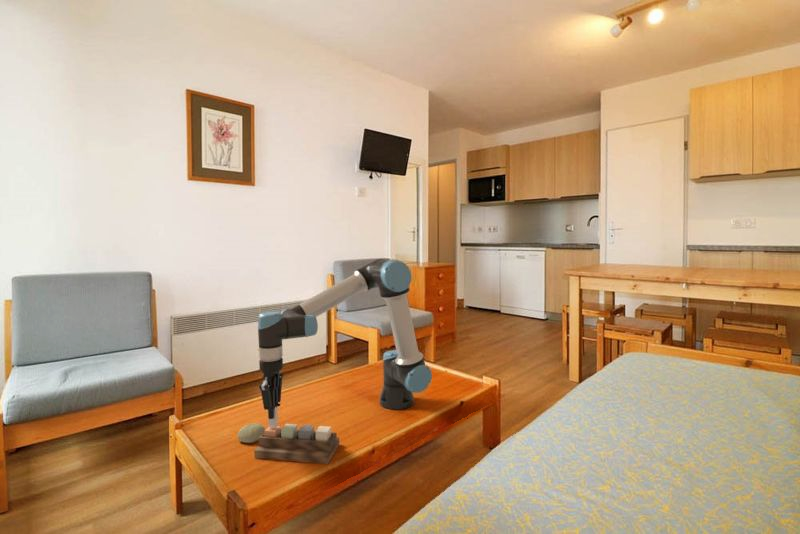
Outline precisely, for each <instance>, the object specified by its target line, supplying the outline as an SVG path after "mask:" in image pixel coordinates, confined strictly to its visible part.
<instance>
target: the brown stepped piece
mask: <svg viewBox="0 0 800 534" xmlns="http://www.w3.org/2000/svg"><path fill="white" fill-rule="evenodd" d="M298 430H299V429H297V433H298ZM339 446H340V437H337V432H333V431H331V438H330V439H329V441H316V430H314V437H313V438H312V439H311V440H302V439H298V434H297V435H296V437H295V438H294V439H289V438H281V433H280V434H279V435H278V437H277V438H275V437H264V433H263V434H262V435H261V436H259V437H258V446H257V447H256V448H255V449H254V451H253V452H254V458H255V459H264V460H265V459H267V460H280V461H291V462H303V463H313V464H314V463H315V464H316V463H317V464H327V465H328V464H329V463H330V461H331V459H332V457H333V456H334V454H335V453H336V451H337V449H338V448H339Z"/></svg>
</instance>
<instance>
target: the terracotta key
mask: <svg viewBox="0 0 800 534" xmlns="http://www.w3.org/2000/svg"><path fill="white" fill-rule="evenodd" d="M281 429H282V426H281V425H278V426H277V427H276V428H275V427H269V426H268V427H266V428H265V431H264V437H275V438H277V437H278V435H279V434H280V433H281Z"/></svg>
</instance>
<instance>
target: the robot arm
mask: <svg viewBox="0 0 800 534" xmlns="http://www.w3.org/2000/svg"><path fill="white" fill-rule="evenodd" d="M412 280H413V279H412V271H411V269H410V267H409V266H408V265H407V264H406V263H404V262H403V261H401V260H398V259H393V258H392V259H386V258H378V259H375V260H372V261H370V262H368V263H367V264H365V265H363V266H361V267H360V268H357V269H356V270H354V272H353V274H352V275H351V276H349V277H347V278H345V279H342V280H340V282H337V283H335V284H334V285H332V286H330V287H329V288H327V289H325V290H323V291H321V292H320V293H317V294H316V295H313V296H311V297H310V298H308V299H307V300H305V301H303V302H301V303H299V304H298V305H296V306H294V307H292V308H285V309H283V310H282V311H281V312H280V311H266V312H262V313H260V314H259V315H258V317H257V318H258V319H257V321H258V322H257V331H258V333H257V335H258V336H257V338H258V353H259V354H258V355H259V356H258V357H259V360H258V363H259V366H258V368H259V371H260V372H261V373H262V374H263V378H262V383H260V384H259V387H258V388H259V391H260V394H261V401H262V405H263V409H264V410H265V411H266V410H267V417H268V422H267V424H268V427H275V428H276V427H277V426H279V420H278V419H279V417H278V416H279V412H278V407H281V400H282V386H283V377H284V372H280V371H281V370H283V368H284V358H283V355H284V354H283V350H284V349H283V340H291V339H299V338H308V337H311V336H316V335H317V333H318V330H319V329H318V328H319V326H318V320H317V317H319V316H321V315H323V314H324V313H326V312H328V311H329V310H331V309H333V308H336V307H337V306H339V305H340V304H342V303H344V302H346V301H347V300H349V299H352V298H353V297H354V296H356V295H358V294H359V293H361V292H368V291H370V290H372V289H375V288H378V291H379V295H380V298H381V299H383V300H384V301H385V304H386V309H387V314H388V317H389V323H390V327H391V331H392V336H393V341H394V345H395V349H393V350H387V351H385V352H384V353H383V358H382V362H383V363H382V365H383V368H382V369H383V373H382V375H383V377H382V378H383V379H382V380H383V384H382V385H383V386H382V389H381V393H380V395H379V405H380V406H381V407H383V408H385V409H388V410H403V409H408V408H410V407H412V406H413V405H414V404H415V396H414V394H419V393H421V392H423V391H425V390H427V388H428V387H429V386H430V384H431V382H432V379H433V373H432V370H431V368H430V367H429V366H428V365H427V364H426V362H425V359H424V358H425V357H424V354H423V353H422V352H420V351H419V348H418V342H417V338H416V335H415V333H416V332H415V329H414V324H413V319H412V313H411V310H410V304H409V299H408V295H409V293H410V285H411V283H412Z"/></svg>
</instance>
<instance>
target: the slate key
mask: <svg viewBox="0 0 800 534" xmlns="http://www.w3.org/2000/svg"><path fill="white" fill-rule="evenodd" d="M297 430H298V439H302V440H311V439H312V438H313V437H314V431H315V425H313V424H312V425H310V424H302V425H301V426H300V428H299V429H297Z"/></svg>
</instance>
